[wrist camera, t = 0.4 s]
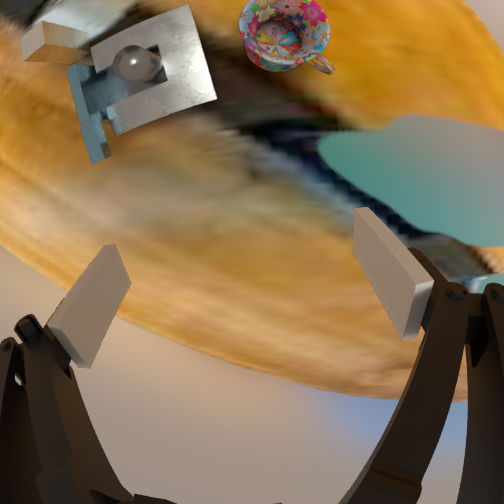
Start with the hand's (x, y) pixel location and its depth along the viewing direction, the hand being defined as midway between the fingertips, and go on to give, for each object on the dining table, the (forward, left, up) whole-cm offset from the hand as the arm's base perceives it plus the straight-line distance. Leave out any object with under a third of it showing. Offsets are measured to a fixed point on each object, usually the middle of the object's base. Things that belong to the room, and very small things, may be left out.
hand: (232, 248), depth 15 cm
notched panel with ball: (-15, -9, -27) cm, 32 cm away
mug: (-14, +9, -27) cm, 32 cm away
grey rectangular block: (-26, -19, -27) cm, 42 cm away
